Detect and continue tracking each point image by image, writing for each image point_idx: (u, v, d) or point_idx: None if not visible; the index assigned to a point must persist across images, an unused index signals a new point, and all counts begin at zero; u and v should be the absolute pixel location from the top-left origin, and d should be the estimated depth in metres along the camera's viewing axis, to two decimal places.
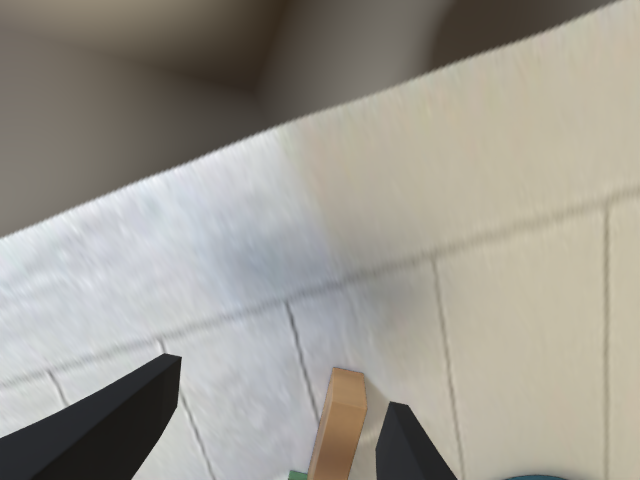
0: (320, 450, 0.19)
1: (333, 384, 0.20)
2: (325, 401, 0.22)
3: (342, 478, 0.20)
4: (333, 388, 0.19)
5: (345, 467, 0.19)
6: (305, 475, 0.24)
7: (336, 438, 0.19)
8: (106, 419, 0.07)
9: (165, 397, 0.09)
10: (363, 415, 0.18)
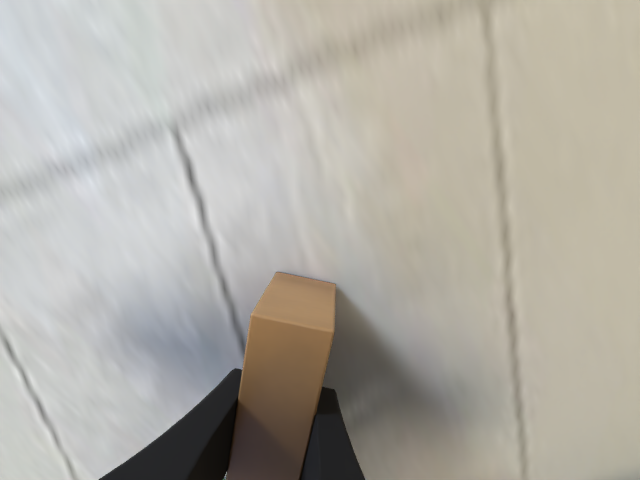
0: (234, 433, 0.09)
1: (266, 291, 0.09)
2: None
3: None
4: (263, 296, 0.09)
5: (290, 470, 0.09)
6: None
7: (266, 405, 0.08)
8: (210, 441, 0.07)
9: None
10: (325, 348, 0.08)
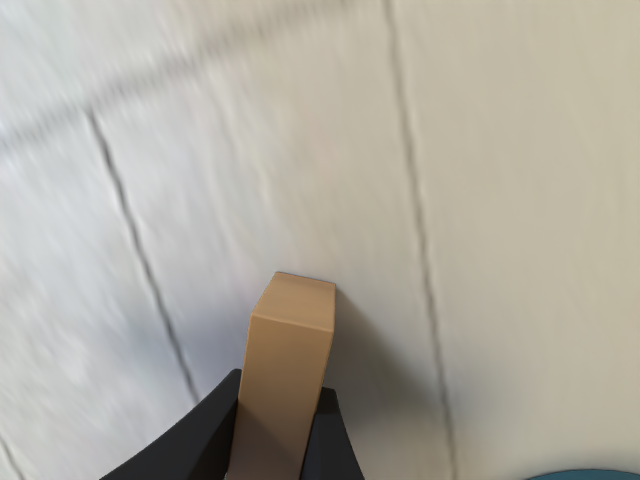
0: (234, 432, 0.09)
1: (265, 291, 0.09)
2: None
3: None
4: (263, 296, 0.09)
5: (290, 470, 0.09)
6: None
7: (266, 404, 0.08)
8: (210, 442, 0.07)
9: None
10: (324, 347, 0.08)
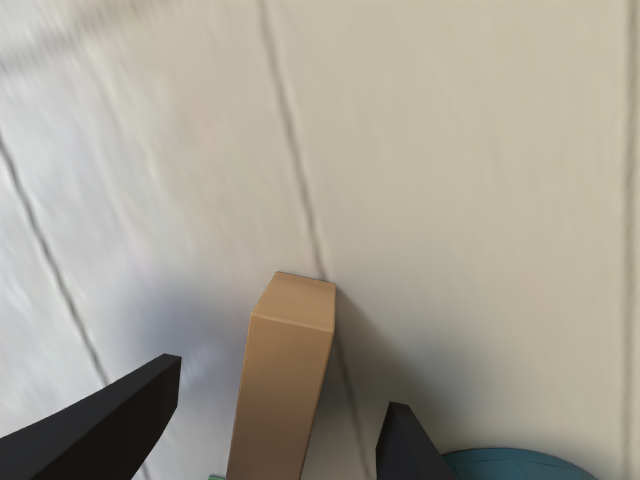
0: (234, 432, 0.09)
1: (265, 291, 0.09)
2: None
3: None
4: (263, 296, 0.09)
5: (290, 470, 0.09)
6: None
7: (266, 405, 0.08)
8: (107, 419, 0.07)
9: (165, 397, 0.09)
10: (325, 347, 0.08)
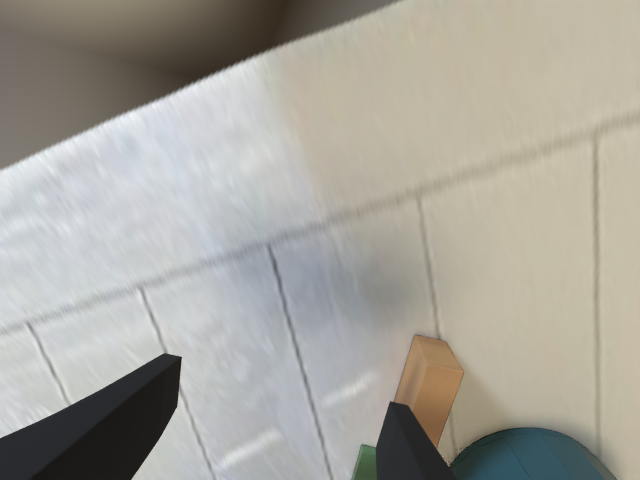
0: None
1: (421, 349, 0.19)
2: (405, 370, 0.21)
3: None
4: (423, 353, 0.19)
5: (435, 435, 0.19)
6: None
7: (428, 404, 0.18)
8: (106, 419, 0.07)
9: (165, 397, 0.09)
10: (459, 379, 0.18)
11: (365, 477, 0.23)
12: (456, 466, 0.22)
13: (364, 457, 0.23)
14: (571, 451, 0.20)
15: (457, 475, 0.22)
